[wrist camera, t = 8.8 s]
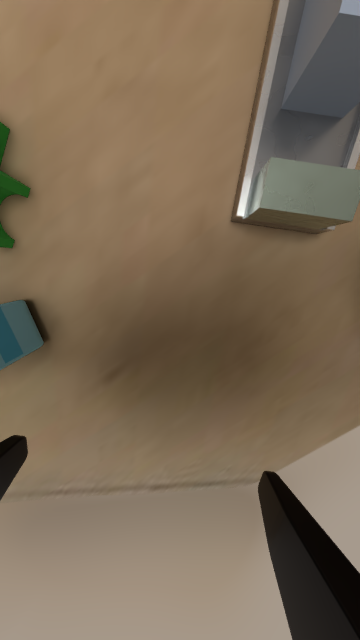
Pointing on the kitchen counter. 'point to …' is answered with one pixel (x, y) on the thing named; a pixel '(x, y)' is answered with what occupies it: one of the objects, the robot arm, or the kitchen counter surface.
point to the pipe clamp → (8, 187)
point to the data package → (17, 332)
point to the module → (326, 59)
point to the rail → (295, 148)
